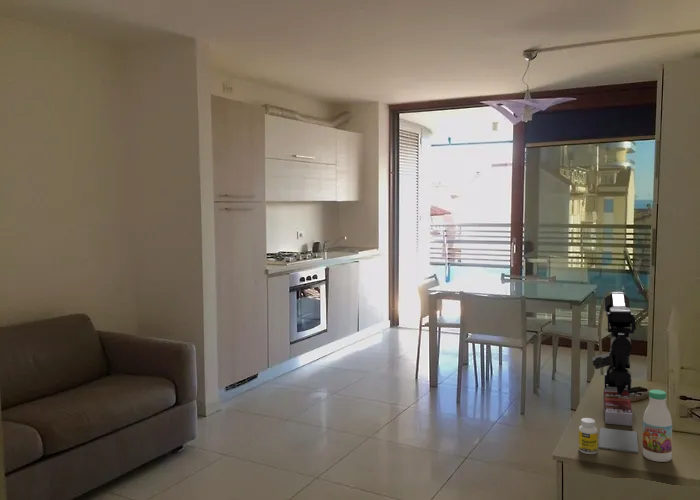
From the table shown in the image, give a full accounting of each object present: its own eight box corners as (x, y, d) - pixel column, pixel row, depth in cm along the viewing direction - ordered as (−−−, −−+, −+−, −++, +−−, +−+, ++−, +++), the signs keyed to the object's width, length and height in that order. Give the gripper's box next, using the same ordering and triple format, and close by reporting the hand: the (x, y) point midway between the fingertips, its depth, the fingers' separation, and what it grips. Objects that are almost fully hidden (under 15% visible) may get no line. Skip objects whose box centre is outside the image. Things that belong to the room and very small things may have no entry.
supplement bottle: (580, 454, 182) (579, 422, 181) (577, 446, 187) (577, 416, 186) (599, 455, 180) (599, 423, 180) (595, 447, 186) (595, 417, 185)
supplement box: (605, 411, 203) (602, 388, 217) (605, 423, 204) (602, 399, 218) (633, 413, 200) (629, 389, 214) (633, 426, 201) (628, 401, 215)
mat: (600, 429, 200) (600, 427, 200) (636, 433, 195) (636, 431, 195) (598, 448, 185) (598, 446, 185) (638, 453, 181) (638, 451, 181)
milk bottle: (641, 450, 183) (642, 386, 181) (670, 453, 180) (671, 388, 178) (643, 460, 176) (643, 394, 174) (673, 464, 173) (673, 397, 171)
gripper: (594, 339, 207) (594, 383, 208) (592, 353, 190) (592, 400, 191) (629, 341, 203) (629, 386, 204) (631, 355, 186) (630, 404, 187)
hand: (619, 394), depth 197 cm, fingers closed
